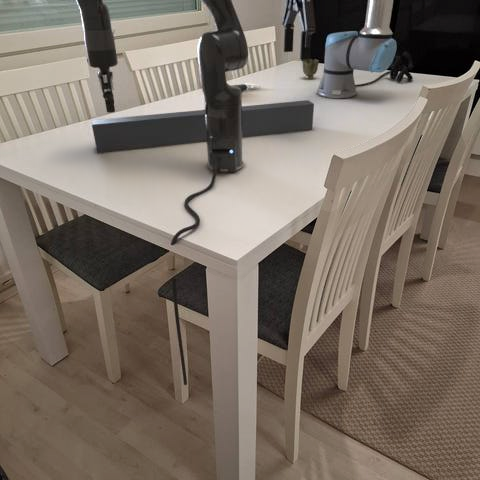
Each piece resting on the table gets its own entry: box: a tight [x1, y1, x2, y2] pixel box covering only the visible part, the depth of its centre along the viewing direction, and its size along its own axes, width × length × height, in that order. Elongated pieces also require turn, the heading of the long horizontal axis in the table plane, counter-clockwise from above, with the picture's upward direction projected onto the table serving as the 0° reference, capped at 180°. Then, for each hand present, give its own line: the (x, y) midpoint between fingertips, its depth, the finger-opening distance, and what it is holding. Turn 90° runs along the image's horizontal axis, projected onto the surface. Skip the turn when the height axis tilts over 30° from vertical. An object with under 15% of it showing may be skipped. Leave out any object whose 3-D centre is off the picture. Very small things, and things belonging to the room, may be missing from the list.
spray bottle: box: [232, 82, 261, 95], centre depth 184 cm, size 3×11×25 cm
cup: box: [301, 58, 320, 80], centre depth 204 cm, size 8×7×8 cm
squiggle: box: [389, 51, 414, 83], centre depth 198 cm, size 11×10×15 cm
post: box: [91, 99, 315, 154], centre depth 137 cm, size 67×5×8 cm, turn 105°
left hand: (110, 108), depth 127 cm, fingers open, 8 cm apart
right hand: (296, 55), depth 133 cm, fingers open, 13 cm apart
